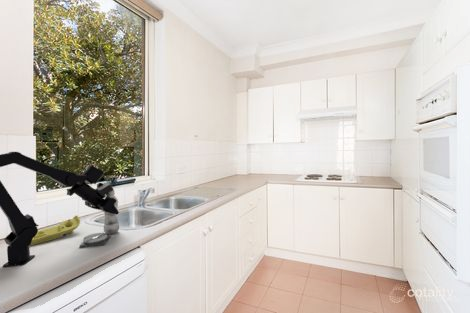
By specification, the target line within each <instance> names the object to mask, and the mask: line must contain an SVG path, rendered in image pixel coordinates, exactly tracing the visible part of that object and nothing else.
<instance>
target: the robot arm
mask: <svg viewBox="0 0 470 313" xmlns="http://www.w3.org/2000/svg"><path fill="white" fill-rule="evenodd" d="M12 164H14V165H17V166H20V167H22V168H25V169H28V170H30V171H32V172H36V173H37V174H40V175H42V176H45V177H47V178H49V179H51V180H52V181H54V182H56V183H57V184H58V185H61V186H63V187H69V188H66V196H71V197H72V196H73V195H74V194H75V195H76V196H78V197H79V198H80V199H81V200H82V201H84V205H85V206H87V207H88V208H90V209H93V210H98V211H101V212H107V213H112V214H117V215H119V213H120V212H119V210H118V209H116V207H115V206H114V204H115V203H116V201H117V200H116V199H114V198H112V197H107V198H106V199H105V197H106V194H107V193H108V192H110V191H112V190H114V187H113V186H112V184H111V183H109V182H103V183H102V182H99V180H101V179H102V177H103V176H104V175H105V172H104V171H103V170H102V169H100V168H98V167H96V166H94V165H92V164H90V165H88V167H87V169H86V170H84V172H83V173H76V172H72V171H68V170H64V169H59V168H57V167H53V166H51V165H48V164H45V163H44V162H41V161H39V160H36V159H34V158H32V157H29V156H27V155H24V154H22V153H21V152H19V151H9V152H7V153H2V154H0V168H2V167H6V166H8V165H12ZM98 182H99V183H98ZM92 185H96V188H94V187H92ZM0 209H1V211H2V212H3V214H4V215H5V216H6V218H7V221H8V225H9V228H10V230H11V232H10V233H9V234H8V235H6V237H5V238H4V239H3V240H4V242H5V244H6V245H7V248H6V253H7V262H6V263H4V264H2V267H3V268H4V267H5V268H6V267H14V266H21V265H26V264H28V263H29V261H31V260H32V259H33V258H35V257H36V255H35V254H33V255H31V252H30V250H31V249H30V246H31V245H30V244H31V242H32V239H33V238H34V237H35V236H36V234H37V232H38V231H39V230H38V227H39V224H37V223H36V222H35V219H34V217H33V216H32V215H30V214H28V213H27V214H25V215H24V214H23V213H22V211H21V210H20V208H19V207H18V205H17V203H16V202H15V200H14V199H13V197H12V195H10V193H9V191H8V190H7V188H6V187H5V185H4V184H3V183H2V181H1V180H0Z"/></svg>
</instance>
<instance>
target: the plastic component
mask: <svg viewBox="0 0 470 313" xmlns="http://www.w3.org/2000/svg"><path fill="white" fill-rule="evenodd" d="M80 224H81V219H80V217H79V215H74V217H73V218H72V219H67V220H64V221H62V222H60V224H58V225H55V226H51V227H47V228H44V229H43V228H42V229H40V230H38V232H37V234H36V236H35V237H34V238H33V239H32V242H31V244H30V245H29V246H33V245H34V246H35V245H39V244H42V243H45V242H49V241H53V240H55V239H58V238H62V237H63V236H64V234H68V235H70V234H72V233H73V232H74V231H75V230H76V229H78V227H79V226H80Z"/></svg>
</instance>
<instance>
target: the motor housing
mask: <svg viewBox="0 0 470 313" xmlns="http://www.w3.org/2000/svg"><path fill="white" fill-rule="evenodd" d="M110 238H111V234H106V233H105V232H97V233H92V234H91V233H90V234H88V235H86V236H84V237H83V240H82V242H81V243H80V244H79V249H83V248H92V247H102V246H105V245H106V244H107V242H108V241H109V239H110Z"/></svg>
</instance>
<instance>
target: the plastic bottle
mask: <svg viewBox="0 0 470 313" xmlns="http://www.w3.org/2000/svg"><path fill="white" fill-rule="evenodd" d="M105 195H106V197H105V198H104V199H106V198H107V197H112V198H114V199H116V200H117V201H116V203H115V204H114V206H115V207H116V209H117V210H118V208H119V200H118V198H117V197H116V195H115V190H114V189H113V190H112V191H110V192H108V193H107V194H105ZM118 217H119V216H118V214H112V213H107V212H104V225H103V231H104V232H103V233H106V234H107V235H113V234H117V233H118V232H119V230H120V223H119V219H118Z"/></svg>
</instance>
